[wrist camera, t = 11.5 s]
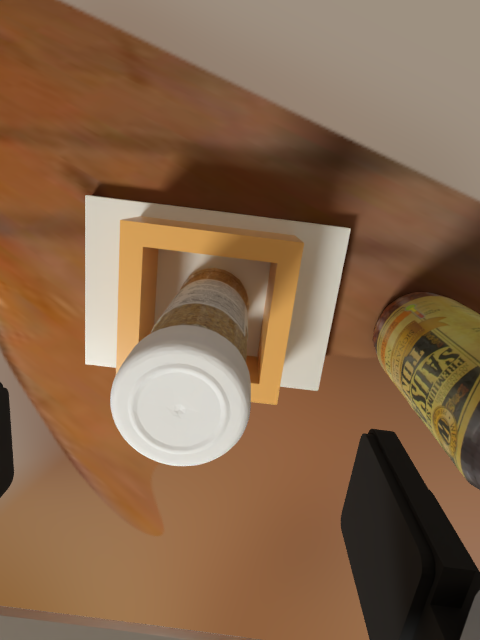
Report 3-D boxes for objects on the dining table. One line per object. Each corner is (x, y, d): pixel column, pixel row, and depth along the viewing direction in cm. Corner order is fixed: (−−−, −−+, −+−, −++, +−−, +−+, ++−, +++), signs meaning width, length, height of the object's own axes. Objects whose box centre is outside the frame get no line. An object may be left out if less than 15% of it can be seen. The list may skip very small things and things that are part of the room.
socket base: (346, 227, 25) (371, 235, 20) (315, 384, 28) (330, 423, 23) (91, 195, 24) (54, 195, 19) (90, 358, 27) (58, 392, 23)
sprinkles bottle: (218, 347, 26) (189, 495, 13) (164, 304, 25) (77, 417, 12) (264, 297, 25) (281, 406, 12) (209, 250, 24) (164, 313, 11)
